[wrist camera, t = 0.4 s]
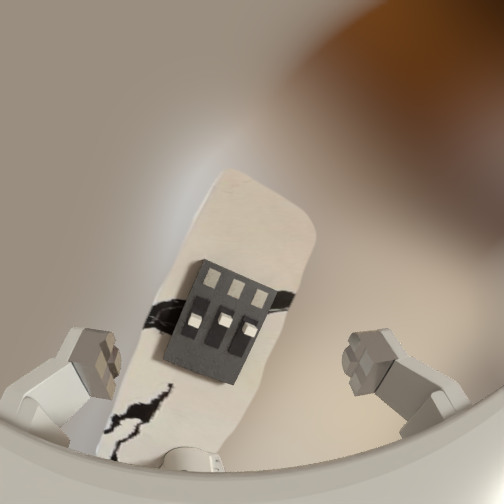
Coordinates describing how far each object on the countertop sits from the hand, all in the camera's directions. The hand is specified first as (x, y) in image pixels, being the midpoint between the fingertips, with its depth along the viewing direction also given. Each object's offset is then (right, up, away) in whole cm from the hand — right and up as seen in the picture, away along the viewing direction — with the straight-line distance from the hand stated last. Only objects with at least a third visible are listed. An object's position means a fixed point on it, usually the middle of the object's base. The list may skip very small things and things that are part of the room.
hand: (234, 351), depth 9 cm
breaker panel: (-7, -13, +51) cm, 53 cm away
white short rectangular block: (0, -13, +48) cm, 49 cm away
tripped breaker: (-11, -10, +46) cm, 48 cm away
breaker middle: (-5, -10, +47) cm, 48 cm away
